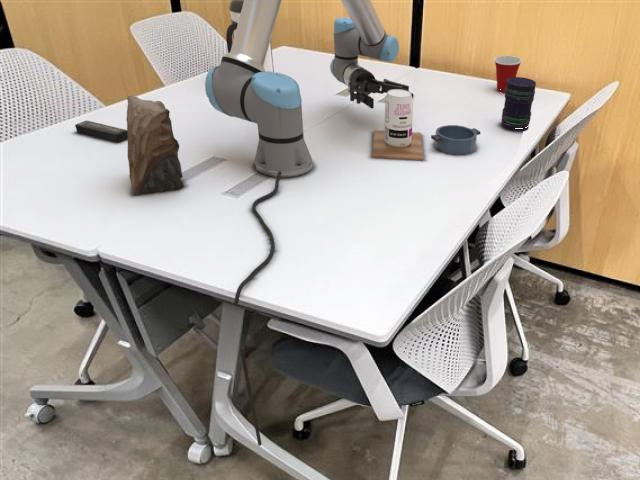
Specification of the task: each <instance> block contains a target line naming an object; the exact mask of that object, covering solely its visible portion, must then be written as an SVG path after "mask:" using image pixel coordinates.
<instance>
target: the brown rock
mask: <svg viewBox="0 0 640 480" xmlns="http://www.w3.org/2000/svg"><path fill="white" fill-rule="evenodd" d="M126 99H127V100H126V101H127V107H126V120H125V121H126V130H127V136H128V139H127V160H128V169H129V176H128V177H129V180H130V184H131V188H132V191H133V196H139V195H146V194H147V195H148V194H154V193H164V192H168V191H178V190H180V189H183V188H184V187H185V185H184V183H183V181H182V178H183V177H184V176H183V172H182V171H183V170H182V165H181V162H180V159H179V150H180V144H179V141H178V139H176V138H175V135H174V131H173V126H172V119H171V118H170V113H171V111H170V109H168V108H166V106H165V104H164V103H163V102H162V101H161V100H154V101H153V100H150V99H149V100H148V99H141V98H139V97H138V96H132V95H128V96H127V98H126Z"/></svg>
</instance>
